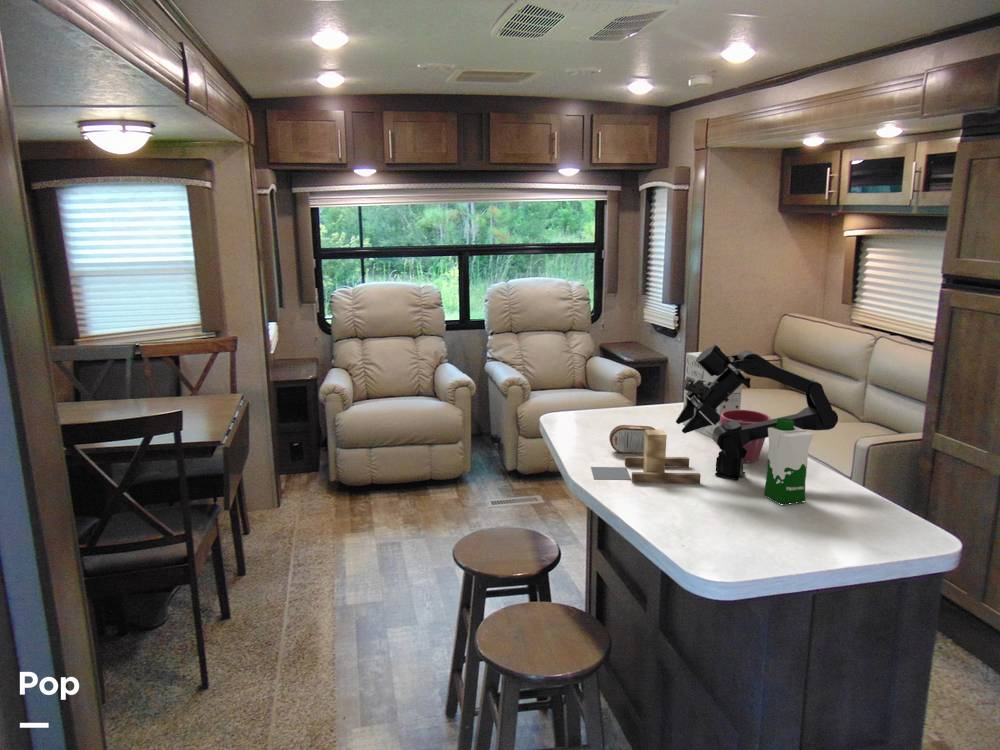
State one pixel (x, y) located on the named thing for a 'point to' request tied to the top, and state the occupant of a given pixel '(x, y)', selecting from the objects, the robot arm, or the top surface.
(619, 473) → the mat
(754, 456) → the plant pot
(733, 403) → the cereal box
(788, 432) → the milk carton
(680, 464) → the plinth rails
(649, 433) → the oak block
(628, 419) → the top surface
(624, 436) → the tin
